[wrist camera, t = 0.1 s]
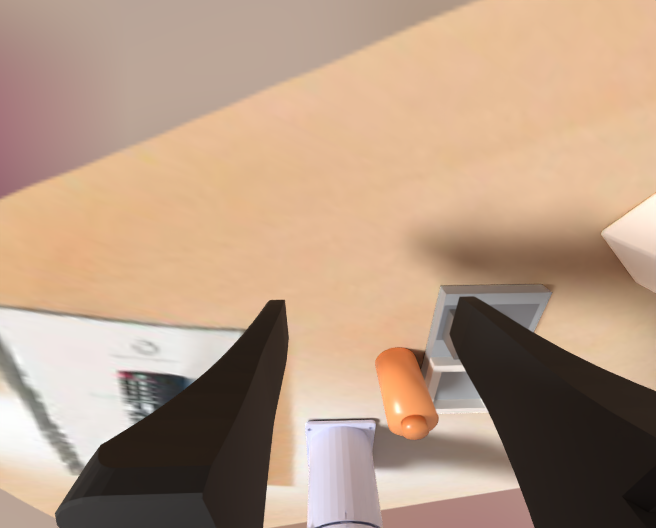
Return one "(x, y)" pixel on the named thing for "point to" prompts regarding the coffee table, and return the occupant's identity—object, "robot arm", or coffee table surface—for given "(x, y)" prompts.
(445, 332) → the block
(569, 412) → the robot arm
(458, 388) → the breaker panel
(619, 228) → the medicine bottle
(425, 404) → the orange bottle
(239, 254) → the coffee table surface
